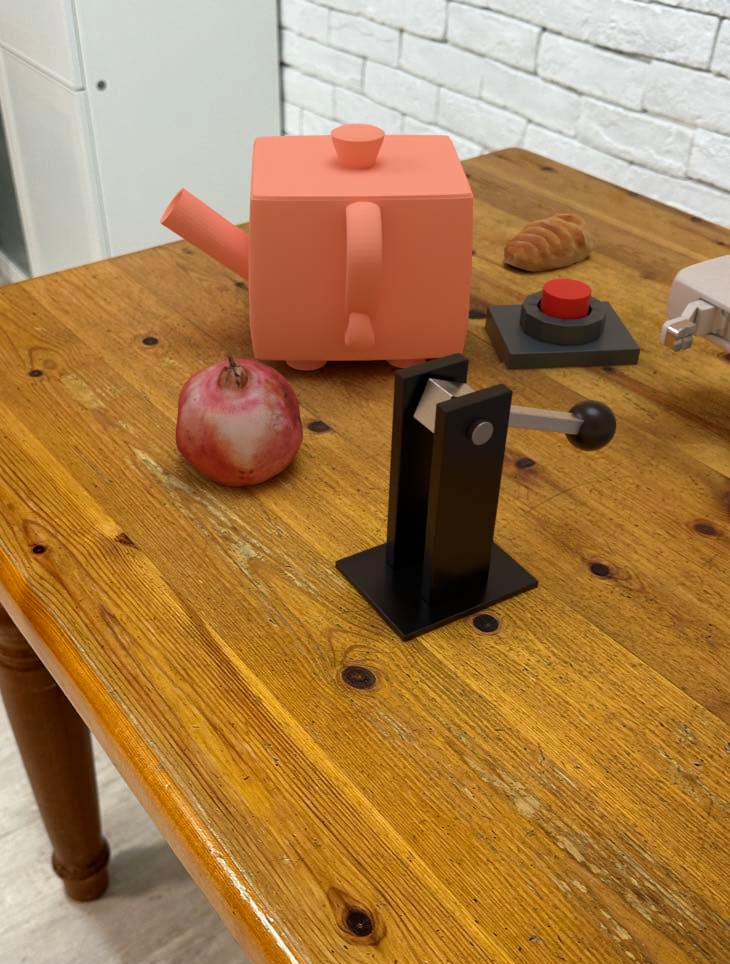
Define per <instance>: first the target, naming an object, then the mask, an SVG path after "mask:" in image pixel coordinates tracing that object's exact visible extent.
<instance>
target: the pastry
mask: <svg viewBox="0 0 730 964" xmlns="http://www.w3.org/2000/svg"><path fill="white" fill-rule="evenodd" d="M593 250H594V243H593V240H592V235H591V233H590V231H589V230H588V225H587V223H586V222H585V220H584V219H582V218H581V217H580V216H578V215H576V214H574V213H572V212H567V213H560V212H555V213H554V214H553V215H552V216H549V217H545V218H543V219H537V220H533V221H531V222H528V223H527V224H526V225H524V227H523V228H522V229H520V231H518V232H517V233H516V234H514V236H513V237H512V238H511V239H510V240H509V241H508V243H507V244H506V245H505V247H504V248H503V254H504V255H503V256H504V257H503V263H504V264H508V265H510V266H512V267H516V268H517V269H522V270H525V271H527V272H532V273H535V272H543V271H547V270H548V271H549V270H551V271H553V270H554V271H555V270H557V269H561V268H566V267H568V266H572V265H574V263H580V262H583V261H585V259H586V258H587V257H588V256H589V255H591V253H592V252H593Z"/></svg>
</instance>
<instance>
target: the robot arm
mask: <svg viewBox="0 0 730 964" xmlns="http://www.w3.org/2000/svg"><path fill="white" fill-rule="evenodd" d="M667 298H668V299H667V305H666V317H667V319H668V320H666V321H665V322H664V323H663V324H662V326H661V329H660V333H659V334H660V335H659V338H658V342H659V344H661V345H662V346H664V347H666V348H668V349H669V350H671V351H673V352H675V353H678V352H680V351H682V350H683V351H684V350H687V349H690V348H691V349H692V345H693V341H694V337H696V338H698V337H699V338H701V339H703V340H705V341H707V342H709V344H710V343H711V344H712V345H714V346H716V347H717V348H719V349H721V350H723V351H725V352H726V353H728V354H730V254H726V255H722V256H718V257H714V258H711V259H706V260H704V261H700V262H697V263H695V264H691V265H689V266H686V267H684V268H682V269H680V270H679V271H678V272H676V274H675V276H674V278H673V281H672V283H671V287H670V290H669V295H668V297H667Z"/></svg>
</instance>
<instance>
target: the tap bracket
mask: <svg viewBox="0 0 730 964" xmlns="http://www.w3.org/2000/svg"><path fill="white" fill-rule="evenodd" d="M469 361H470V360H469V358H468V357H466V356H465V355H463V353H462V354H460V353H455V354H452V355H448V356H445V357H441V358H434V359H432V360H428V361H426V362H424V363H421V364H417V365H414V366H411V367H407V368H400V369H397V370H395V371H394V384H393V402H392V403H393V404H392V421H391V422H392V423H391V443H390V463H389V481H388V502H387V503H388V504H387V522H386V541H385V542H383V543H381V544H378V545H376V546H373V547H370V548H367V549H364V550H362V551H359V552H357V553H353V554H351V555H347V556H345V557H343V558H340V559H338V560H335V562H334V567H335V568H336V569H337V571H338V572H339V573H340V574H341V575H342V577H344V579H346V581H347V582H348V583H349V584H350V585H351V586H352V588H353V589H355V590H356V592H357V593H358V594H359V595H360V596H361V597H362V598H363V600H365V601H366V603H367V604H368V605H369V606H370V608H372V610H374V611H375V613H377V615H378V616H379V617H380V618H381V619H382V620H383V621H384V622H385V623H386V624H387V626H388V627H389V628H390V629H391V630H392V631H393V632H394V633H395V634H396V635H397V636H398V638H399V639H400V640H401V641H402V642H403V643H407V642H409V641H411V640H414V639H416V638H418V637H421V636H423V635H425V634H428V633H431V632H433V631H435V630H438V629H440V628H442V627H445V626H447V625H449V624H452V623H454V622H457V621H459V620H461V619H464V618H466V617H469V616H471V615H473V614H477V613H479V612H482V611H483V610H486V609H488V608H491V607H493V606H496V605H498V604H501V603H504V602H505V601H507V600H510V599H513V598H515V597H517V596H520V595H522V594H524V593H527V592H529V591H531V590H534V589H536V588H538V587H539V580H538V579H537V577H534V576H533V575H532V574H531V573H530V572H529V570H527V569H525V568H524V566H522V565H521V564H520V563H519V562H518V561H516V559H515V558H513V556H511V555H510V554H509V553H508V552H507V551H505V550H504V549H503V548H502V547H501V546H500V545H498V544H497V543H496V542H495V541H494V537H495V536H494V535H495V529H496V521H497V516H498V515H497V513H498V507H499V499H500V492H501V491H500V490H501V484H502V478H503V477H502V476H503V470H504V463H505V461H504V460H505V453H506V447H507V446H506V445H507V437H508V430H509V427H508V424H509V416H510V409H511V405H512V401H513V394H514V393H513V392H514V391H513V389H511V388H510V387H508V386H507V385H505V384H504V383H503V382H502V383H501V382H500V383H498V384H494V385H492V386H488V387H485V388H481V389H478V390H475V392H472V393H469V394H465V395H462V396H459V397H456V398H453V399H449V400H446V401H443V402H440V403H437V404H436V414H435V427H434V433H433V432H431V431H430V430H429V429H428V428H427V427H425V426H424V425H423V424H422V423H420V422H419V421H418V420H417V419H416V418H414V414H415V411H416V409H417V406H418V404H419V402H420V399H421V397H422V394H423V392H424V390H425V387H426V385H427V382H428V380H429V378H431V379H438V380H445V381H452V382H459V383H465V384H467V381H468V369H469Z"/></svg>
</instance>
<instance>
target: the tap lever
mask: <svg viewBox="0 0 730 964" xmlns="http://www.w3.org/2000/svg"><path fill="white" fill-rule="evenodd" d="M475 391H476V390H475V389H473V388H472V387H471V386H469V385H468V384H467V383H466V384H465V383H459V382H452V381H445V380H438V379H431V378H429V380H428V382H427V385H426V387H425V390H424V392H423V394H422V397H421V399H420V402H419V404H418V406H417V409H416V411H415V414H414V418H416V419H417V420H418V421H419V422H420V423H422V424H423V425H424V426H425V427H427V428H428V429H429V430H430V431H431V432H433V433H434V427H435V414H436V404H437V403H440V402H443V401H446V400H449V399H453V398H456V397H459V396H462V395H465V394H469V393H472V392H475ZM508 428H515V429H523V430H532V431H539V432H540V431H541V432H548V433H549V432H550V433H559V434H564V435H565V437H566V440H567V441H568V442H569V444H571V446H573V447H574V448H575V449H577V450H579V451H583V452H595V451H596V452H597V451H599V450H602V449H603V448H606V447H607V446H608V445H609V444H610V443H611V442H612V441H613V439H614V437H615V434H616V433H617V419H616V416H615V413H614V411H613V410H612V409H611V408H610V407H609V406H608V405H607V404H606V403H604V402H602V401H599V400H596V399H587V400H583V401H580V402H577V403H576V404H574V405H573V406H572V407H571V408H570V409H569V410H568V411H567V412H566V411H559V410H551V409H545V408H544V409H543V408H537V407H536V408H535V407H529V406H520V405H514V404H511V409H510V416H509V424H508Z"/></svg>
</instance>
